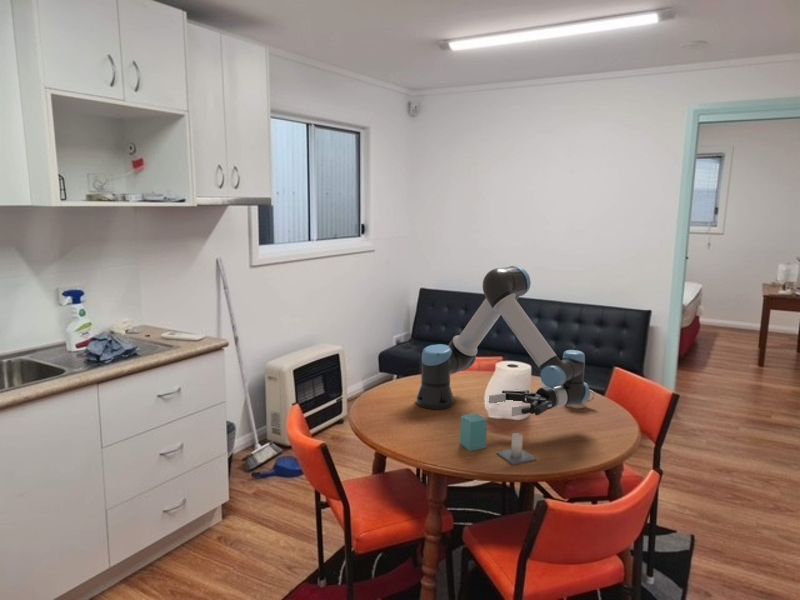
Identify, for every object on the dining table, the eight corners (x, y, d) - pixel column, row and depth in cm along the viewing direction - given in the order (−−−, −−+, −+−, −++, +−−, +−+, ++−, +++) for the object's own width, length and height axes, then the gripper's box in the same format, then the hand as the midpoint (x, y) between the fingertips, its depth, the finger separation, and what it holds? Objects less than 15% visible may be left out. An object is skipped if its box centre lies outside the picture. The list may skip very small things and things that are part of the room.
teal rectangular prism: (469, 451, 187) (470, 422, 185) (460, 443, 193) (461, 415, 191) (485, 448, 190) (486, 419, 188) (475, 440, 195) (476, 413, 194)
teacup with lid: (561, 406, 230) (563, 378, 228) (565, 399, 238) (567, 373, 236) (592, 411, 225) (594, 383, 223) (595, 404, 233) (597, 377, 231)
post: (512, 465, 177) (514, 442, 176) (496, 453, 185) (497, 431, 184) (536, 460, 181) (537, 437, 180) (519, 449, 189) (520, 427, 188)
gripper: (574, 418, 191) (522, 428, 182) (528, 396, 213) (480, 404, 204) (575, 397, 189) (523, 406, 181) (529, 377, 212) (480, 384, 203)
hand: (500, 405), depth 193 cm, fingers open, 13 cm apart
